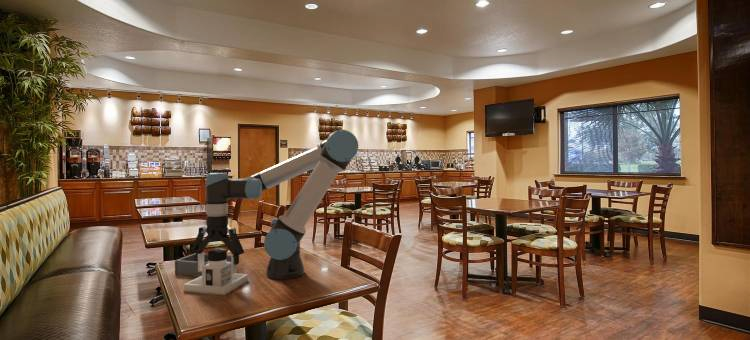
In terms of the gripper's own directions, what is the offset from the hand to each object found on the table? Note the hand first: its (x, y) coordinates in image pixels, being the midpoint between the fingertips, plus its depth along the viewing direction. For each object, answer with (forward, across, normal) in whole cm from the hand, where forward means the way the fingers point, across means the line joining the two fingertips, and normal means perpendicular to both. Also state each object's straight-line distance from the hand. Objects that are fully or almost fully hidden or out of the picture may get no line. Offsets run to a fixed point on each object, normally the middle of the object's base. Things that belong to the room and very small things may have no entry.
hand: (217, 272), depth 146 cm
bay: (+5, +16, -15) cm, 23 cm away
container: (+5, 0, 0) cm, 5 cm away
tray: (+5, 0, 0) cm, 5 cm away
